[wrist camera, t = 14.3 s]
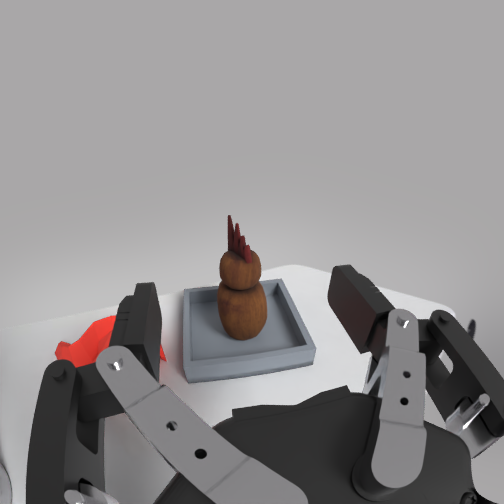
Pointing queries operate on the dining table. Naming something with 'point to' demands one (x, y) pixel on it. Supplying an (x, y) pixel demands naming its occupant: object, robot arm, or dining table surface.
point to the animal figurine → (90, 344)
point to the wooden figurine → (241, 289)
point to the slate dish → (238, 351)
